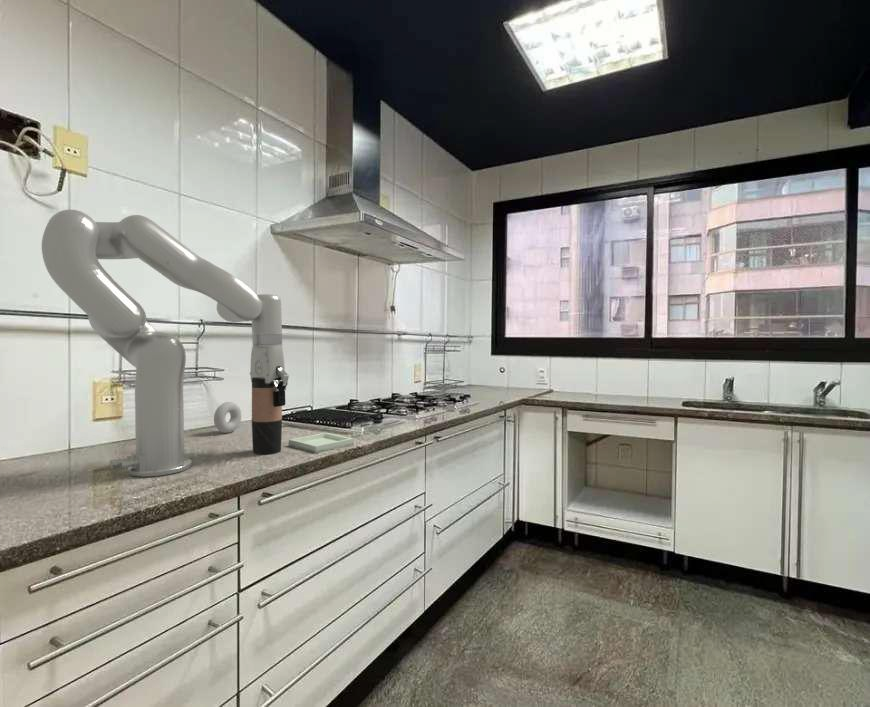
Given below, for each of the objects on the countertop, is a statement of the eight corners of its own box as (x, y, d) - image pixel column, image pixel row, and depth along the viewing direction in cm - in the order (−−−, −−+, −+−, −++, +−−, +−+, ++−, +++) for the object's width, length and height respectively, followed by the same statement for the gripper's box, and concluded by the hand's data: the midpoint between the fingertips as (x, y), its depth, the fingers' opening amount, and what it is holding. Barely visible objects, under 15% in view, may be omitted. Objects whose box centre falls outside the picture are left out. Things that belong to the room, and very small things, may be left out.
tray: (316, 453, 120) (316, 446, 120) (288, 445, 129) (288, 439, 129) (353, 444, 130) (353, 438, 130) (326, 438, 139) (325, 432, 139)
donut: (236, 429, 151) (235, 399, 151) (244, 430, 150) (243, 400, 150) (211, 435, 142) (210, 403, 142) (219, 436, 141) (219, 404, 140)
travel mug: (272, 455, 117) (271, 379, 117) (245, 454, 119) (245, 378, 118) (287, 449, 125) (287, 376, 124) (262, 447, 126) (262, 376, 126)
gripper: (237, 341, 124) (240, 403, 125) (272, 341, 113) (274, 409, 114) (263, 340, 130) (265, 399, 130) (298, 340, 119) (300, 405, 119)
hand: (269, 404), depth 122 cm, fingers open, 9 cm apart
